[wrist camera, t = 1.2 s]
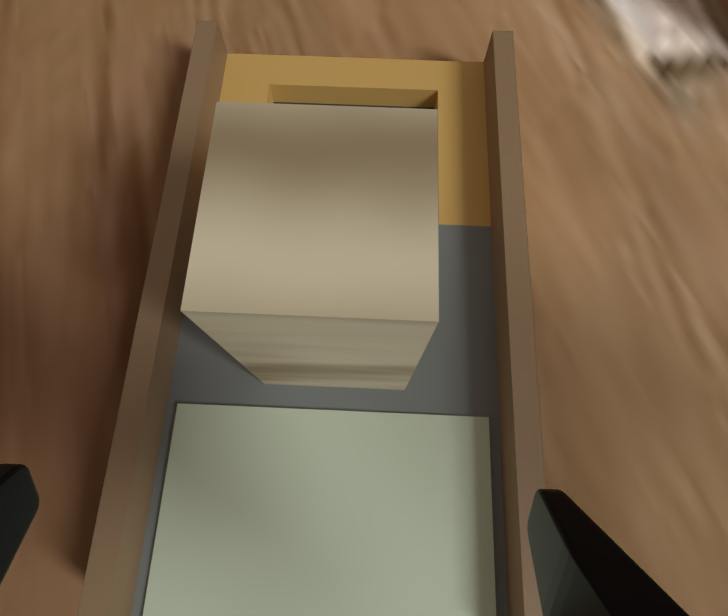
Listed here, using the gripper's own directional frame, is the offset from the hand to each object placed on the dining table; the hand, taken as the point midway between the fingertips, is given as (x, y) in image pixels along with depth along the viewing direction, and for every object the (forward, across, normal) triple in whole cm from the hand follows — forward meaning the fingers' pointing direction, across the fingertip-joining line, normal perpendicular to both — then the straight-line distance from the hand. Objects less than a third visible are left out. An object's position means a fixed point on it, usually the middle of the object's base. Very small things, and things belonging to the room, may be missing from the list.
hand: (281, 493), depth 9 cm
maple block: (+13, 0, +3) cm, 13 cm away
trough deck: (+15, 0, +3) cm, 15 cm away
